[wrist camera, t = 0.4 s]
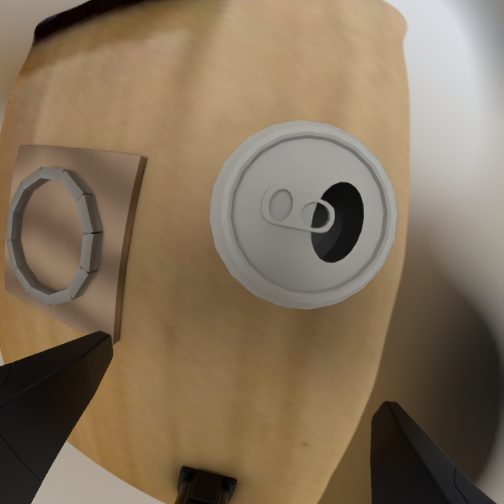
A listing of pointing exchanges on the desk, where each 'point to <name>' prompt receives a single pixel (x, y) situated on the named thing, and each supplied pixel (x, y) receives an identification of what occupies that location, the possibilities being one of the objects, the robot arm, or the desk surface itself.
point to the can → (303, 214)
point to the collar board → (72, 233)
